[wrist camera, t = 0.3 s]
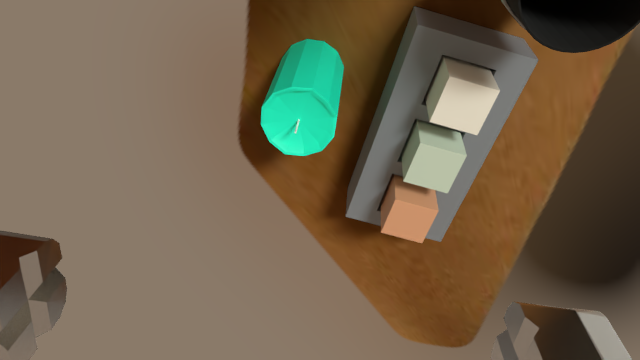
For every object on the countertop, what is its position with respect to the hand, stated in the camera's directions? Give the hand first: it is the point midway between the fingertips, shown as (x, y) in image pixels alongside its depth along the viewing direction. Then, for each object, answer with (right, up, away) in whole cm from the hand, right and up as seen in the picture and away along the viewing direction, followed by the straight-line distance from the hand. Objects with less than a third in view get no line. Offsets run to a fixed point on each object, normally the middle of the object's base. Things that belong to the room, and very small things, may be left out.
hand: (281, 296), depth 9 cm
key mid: (+11, +6, +38) cm, 40 cm away
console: (+11, +8, +40) cm, 43 cm away
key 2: (+12, +11, +35) cm, 39 cm away
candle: (0, +13, +39) cm, 41 cm away
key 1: (+9, +2, +42) cm, 43 cm away
